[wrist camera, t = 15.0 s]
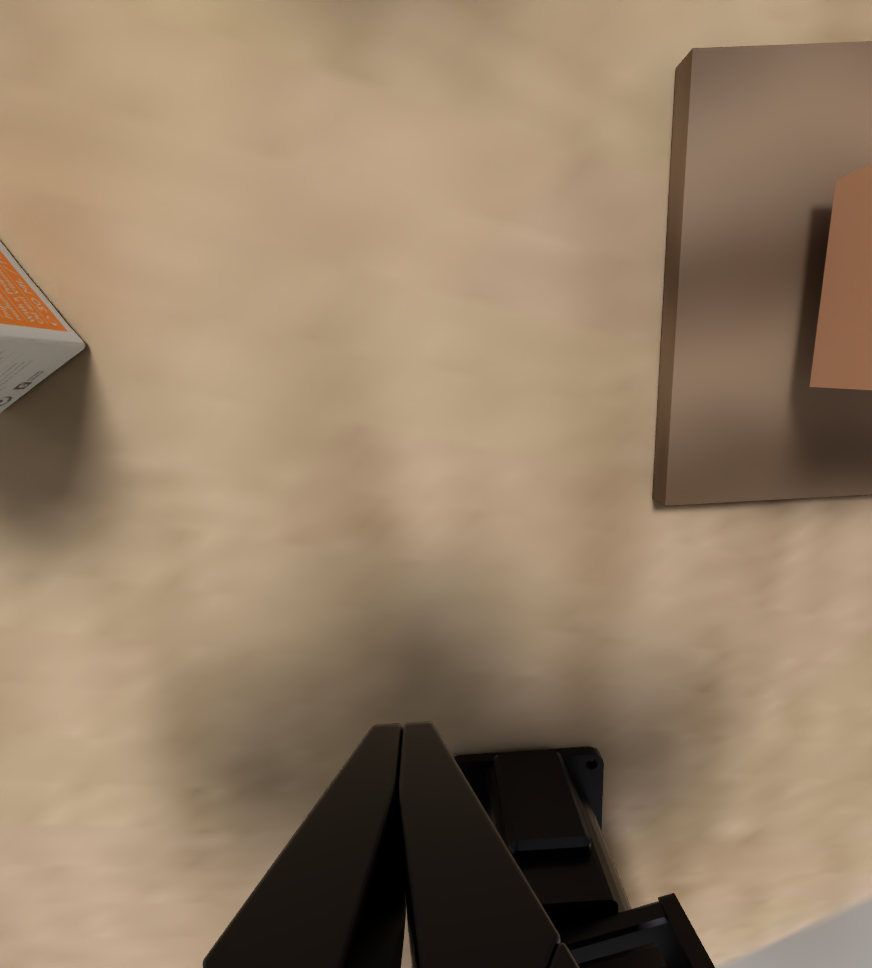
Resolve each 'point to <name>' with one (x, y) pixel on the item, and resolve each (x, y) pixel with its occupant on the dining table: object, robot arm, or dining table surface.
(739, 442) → the board
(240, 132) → the dining table surface
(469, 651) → the dining table surface
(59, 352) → the skincare box
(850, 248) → the salmon pink rectangular prism
